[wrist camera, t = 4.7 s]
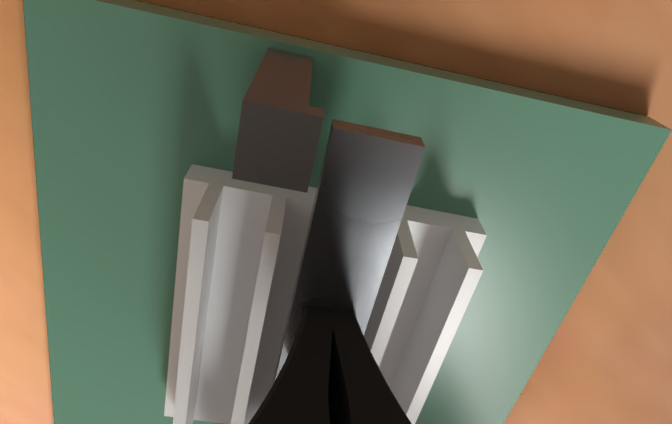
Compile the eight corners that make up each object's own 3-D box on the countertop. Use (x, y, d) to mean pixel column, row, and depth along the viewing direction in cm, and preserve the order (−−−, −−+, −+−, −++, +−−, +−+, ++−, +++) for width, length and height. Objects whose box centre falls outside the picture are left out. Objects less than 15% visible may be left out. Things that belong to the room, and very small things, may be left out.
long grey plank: (297, 520, 18) (295, 546, 18) (242, 514, 18) (238, 540, 17) (419, 134, 11) (426, 149, 10) (332, 116, 11) (333, 130, 10)
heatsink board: (443, 493, 25) (475, 642, 20) (70, 449, 23) (-6, 602, 18) (648, 116, 16) (811, 209, 10) (45, -21, 13) (-134, 9, 8)
